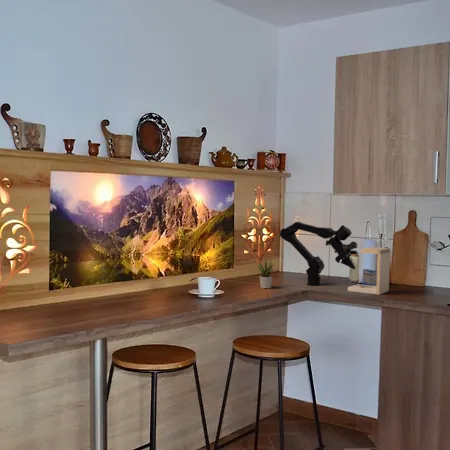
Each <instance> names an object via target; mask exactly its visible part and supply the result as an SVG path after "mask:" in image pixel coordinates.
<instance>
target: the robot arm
mask: <svg viewBox="0 0 450 450" xmlns="http://www.w3.org/2000/svg"><path fill="white" fill-rule="evenodd" d="M299 230H300V231H304V232H307V233H311V234H314V235H317V236H318V237H320V238H322V239H326V240H325V246H330V247H332V248H333V250H334V253H335V254H337V256H336V257H335V258H334V259H335V261H336V263H338V264H339V263H340V264H342V265H345V266H347V267H348V268H349V269H350V268H352V269H355V266H354V265H353V263H352V262H351V260H350V256H351V254H359V252H358V251H357V250H355V249H357V248H358V243H357V242H356V241H354V240H353V241H351V242H350V243H348V244H346V243H343V242H344V241H345V240H347V239H348V238H349V237H350V236H352V230H351V229H350V228H348V227H347V226H345V225H344V224H342V225H341V226H339V228H338V229H337V230H334V229H333V228H331V227H319V226H315V225H312V224H307V223H303V222H301V221H296V222H295V221H294V223H292V224H291V225H288V226H286V228H285V227H284V228H281V229H280V231H279V236H280V238H281V239H283V240H284V241H286V242H287V243H290V244H291V246H292V247H293V248H294V249H295V250H296V251H297V252H298V253H299V254H300V256H302V258H303V259H304V260H305V261H306V262H307V263H306V264H307V265H308V268H307V269H306V270H305V271H306V275H307V284H306V285H307V286H320V285H321V280H322V277H321V273H322V271H323V270H324V269H325V264H324V260H322V259H321V257H320V256H318V255H317V256H314V255H313V254H312V253H311V251H310V250H308V249H307V247H305V245H304V244H303V243H302V242H301V241H300V240H299V239H298V237H297V234H296V233H297V232H298V231H299ZM342 241H343V242H342Z"/></svg>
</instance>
